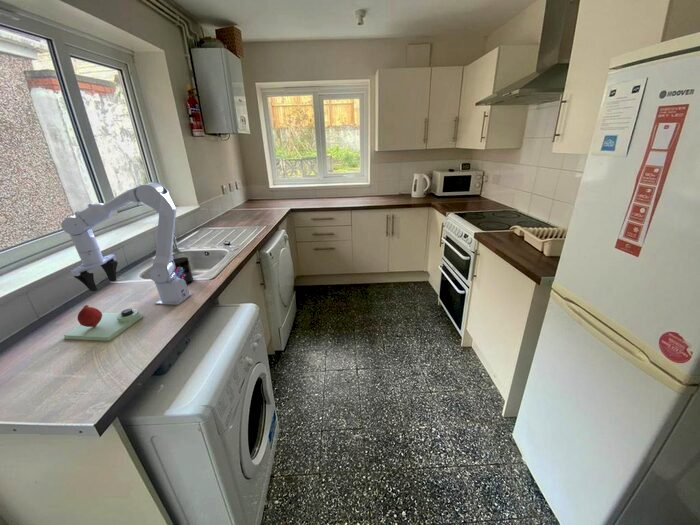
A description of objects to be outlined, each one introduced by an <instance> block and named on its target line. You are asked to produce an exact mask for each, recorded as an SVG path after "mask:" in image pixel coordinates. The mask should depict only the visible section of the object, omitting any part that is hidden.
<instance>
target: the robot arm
mask: <svg viewBox="0 0 700 525" xmlns="http://www.w3.org/2000/svg"><path fill="white" fill-rule="evenodd" d="M140 202H141V203H142V204H144V205H146V206H148V207H150V208H151V209H153V210H154V211H155V212H157V214H158V223H157V232H156V233H157V234H156V247H155V256H154V258H153V263H152V267H151V269H150V270H149V272H148V276H149V279H151V281H153V282H154V284H155V287H156V290H157V293H158V296H159V298H160V299H159V300H158V301H156V302H155V305H169V306H170V305H171V306H172V305H173V306H178V305H180V304H182V302H184V301H185V300H186V299H188V298H189V297H190V296H191V295H192V293H190V291H189V288H188V284H186V282H185V280H184V279H180V278H178V277H177V276H176V274H175V273H174V270H175V263H174V261H173V260H174V256H173V248H174V238H175V228H176V219H177V206H175V204H174V203H175V202H174V201H173V199H172V197H171V196H170V192H169V190H168V189H167V188H166V187H165V186H164V185H163V184H162V183H160V182H158V181H150V182H147V183H145V184H144V183H143V184H141V185H138V186H136V187H133V188H129V189H126V190H125V191H123V192H121V193H119V194H118V195H116V196H115V197H113V198H111V199H110V200H108V201H106V202H105V203H103V202H102V203H101V202H90V203H88V204H87V207H86V208H84V209H82V210H77V211H75V212H74V215H71V216H67V217H65V218H64V219H63V220H62V221H61V229H62V230H63V232H65V233H66V234H68V235H69V236H70V238H71V240H72V242H73V245H74V247H75V250H76V252H77V254H78V256H79V259H80V261H81V264H80V265H78V266H77V267H75V268H73V269H71V270H70V273H71V275H72V277H73V278H75V279H76V280H78V281H80V282H81V283H82V284H83V285H84V286H85V287H86V288H87V289H88V290H89V291H90V292H97V291H98V288H97V287H98V286H97V285H96V283H95V278H94V273H93V272H89V271H91V270H93V269H96V268H99V267H101V268H102V269H103V271H104V272H105V274H106V277H107V279H108V281H109V282H116V281H117V267H118V264H119V263H118V260H117V257H116V255H115V254H108V255H105V256H103V253H102V251H101V249H100V247H99V246H100V245H99V243H98V241H97V239H96V237H95V236H96V235H94V231H93V228H94V227H96V226H98V225H100V224H102V223H103V222H105V221H106V220H109V219H110V218H112V214H113V212H114V211H116V210H118V209H120V208H123V207H124V206H126V205H128V204H130V203H140Z"/></svg>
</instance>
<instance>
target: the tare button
mask: <svg viewBox="0 0 700 525" xmlns="http://www.w3.org/2000/svg"><path fill="white" fill-rule="evenodd" d="M132 309H133V308H125V309H123V310H122V311H121V312H120V313H121V314H122V317H126V316H129V315H131V314H133V312H132Z"/></svg>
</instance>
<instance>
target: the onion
mask: <svg viewBox="0 0 700 525" xmlns="http://www.w3.org/2000/svg"><path fill="white" fill-rule="evenodd" d="M102 313H103V312H102V311H101V310H99V309H98V308H97V307H92V306H89V304H85V305H84V306H83V307H82V308H81V309H80V311H79V312H78V314H77V321H78V323H79V324H80V325H83V326H86V327H95V326H97V324H98V323H99V322H100V321H101V319H102Z"/></svg>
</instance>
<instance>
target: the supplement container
mask: <svg viewBox="0 0 700 525" xmlns="http://www.w3.org/2000/svg"><path fill="white" fill-rule="evenodd" d="M173 261H174V263H175V270H174V273H175V274H176V276H177V277H178V278H180V279H184V280H185V282H186V284H187V285H190V284H191V283H193V282H194V280H195V279H194V274H193V271H192V267H191V264H190V260H189V257H185V256H183V257H182V256H181V257H177V258H173Z"/></svg>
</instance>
